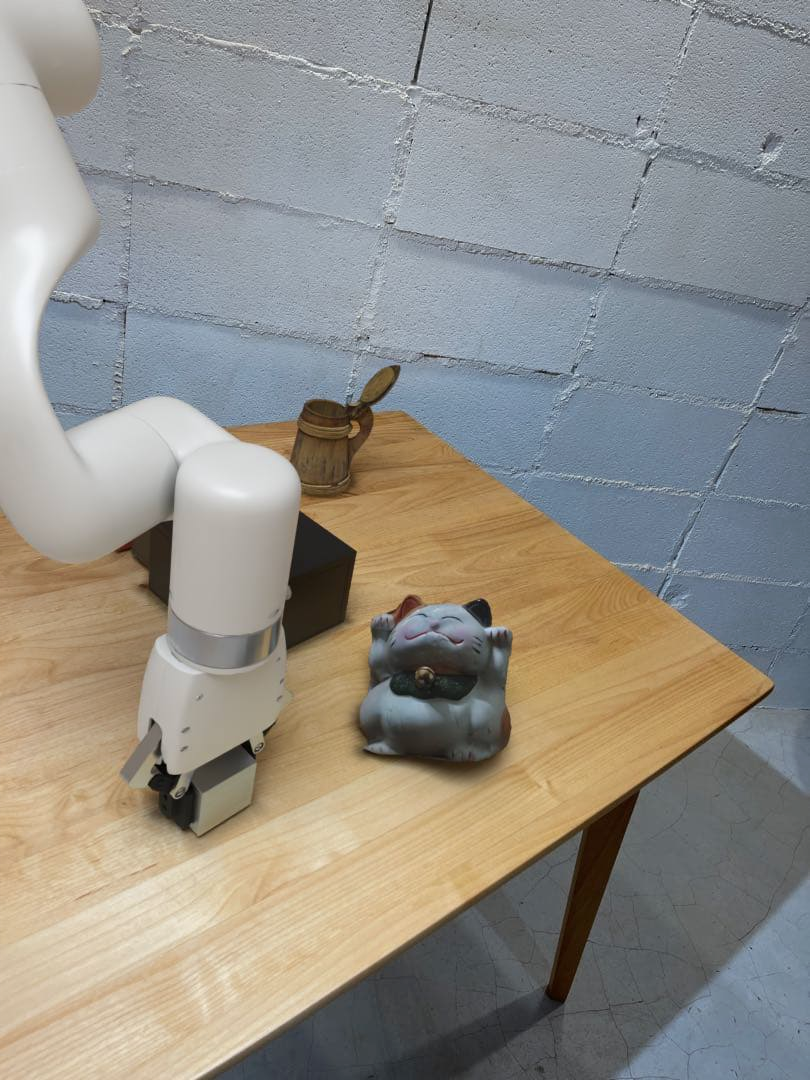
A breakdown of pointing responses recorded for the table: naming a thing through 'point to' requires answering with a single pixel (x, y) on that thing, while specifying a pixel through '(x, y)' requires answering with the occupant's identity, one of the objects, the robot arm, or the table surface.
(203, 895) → the table surface
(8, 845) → the table surface
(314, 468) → the wooden mug
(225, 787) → the steel block
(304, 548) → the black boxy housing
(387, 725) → the lucky cat figurine
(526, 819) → the table surface
